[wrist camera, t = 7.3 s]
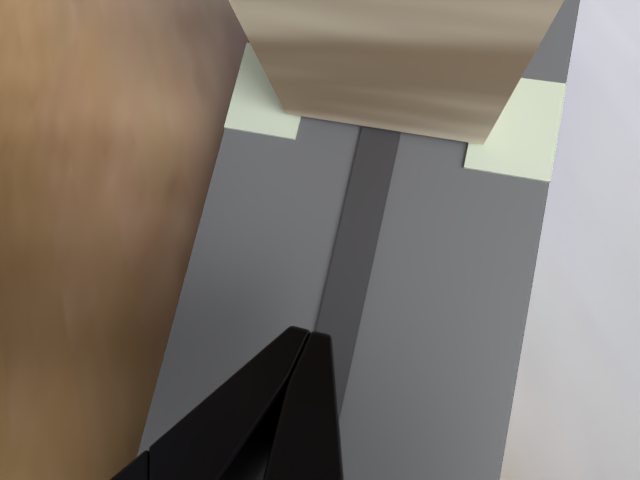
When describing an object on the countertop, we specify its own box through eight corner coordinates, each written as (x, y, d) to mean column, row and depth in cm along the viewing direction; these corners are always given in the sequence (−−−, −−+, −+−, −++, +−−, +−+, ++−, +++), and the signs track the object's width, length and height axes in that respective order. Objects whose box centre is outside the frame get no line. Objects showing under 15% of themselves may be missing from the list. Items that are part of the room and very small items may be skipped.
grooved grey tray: (434, 738, 13) (457, 955, 8) (122, 615, 15) (11, 741, 10) (556, 34, 16) (621, -74, 11) (282, 3, 17) (247, -99, 13)
